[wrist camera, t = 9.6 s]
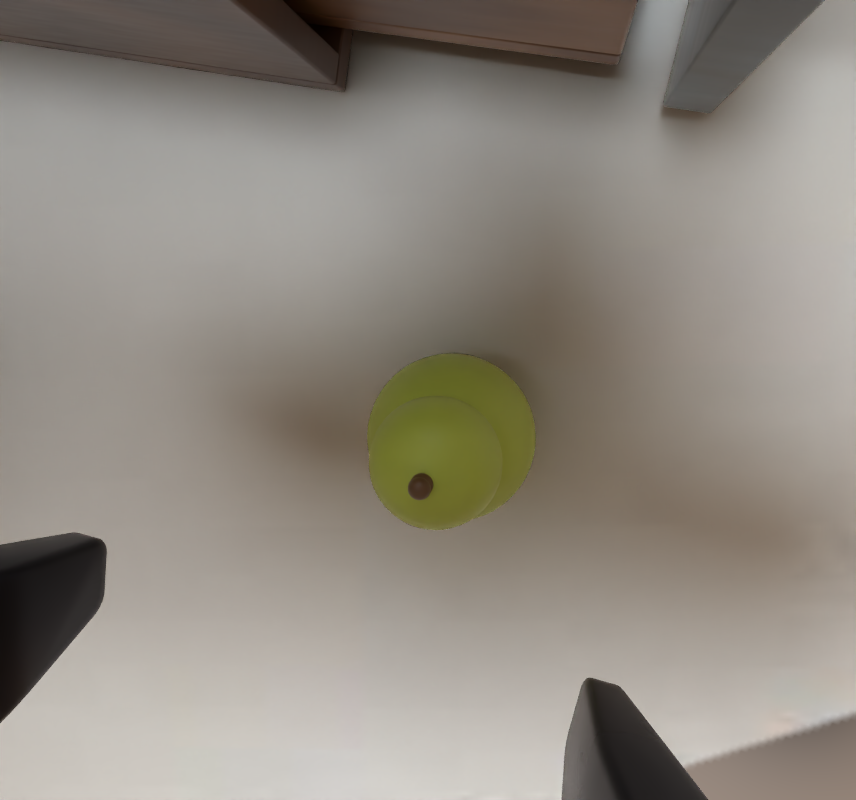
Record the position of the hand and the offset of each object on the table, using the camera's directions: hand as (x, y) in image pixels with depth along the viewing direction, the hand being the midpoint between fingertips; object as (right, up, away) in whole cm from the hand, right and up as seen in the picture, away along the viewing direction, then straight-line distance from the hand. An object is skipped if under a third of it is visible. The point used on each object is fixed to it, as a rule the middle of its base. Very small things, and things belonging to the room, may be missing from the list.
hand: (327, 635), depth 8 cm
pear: (+2, +2, +11) cm, 12 cm away
